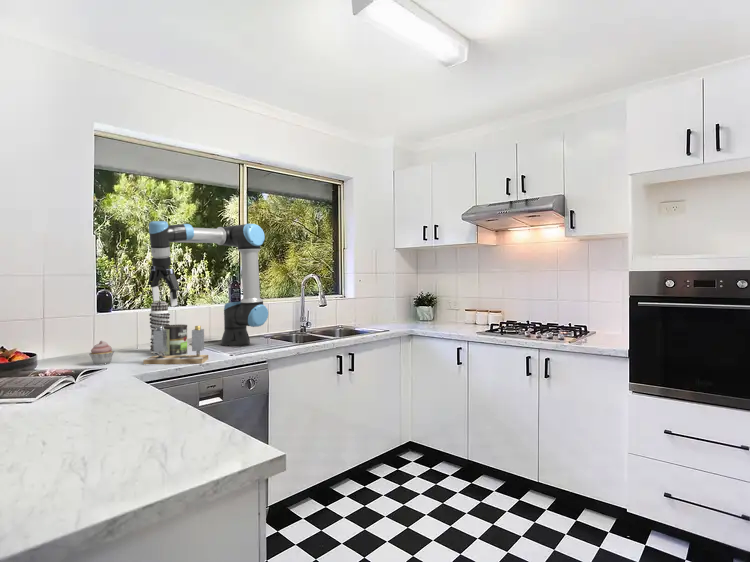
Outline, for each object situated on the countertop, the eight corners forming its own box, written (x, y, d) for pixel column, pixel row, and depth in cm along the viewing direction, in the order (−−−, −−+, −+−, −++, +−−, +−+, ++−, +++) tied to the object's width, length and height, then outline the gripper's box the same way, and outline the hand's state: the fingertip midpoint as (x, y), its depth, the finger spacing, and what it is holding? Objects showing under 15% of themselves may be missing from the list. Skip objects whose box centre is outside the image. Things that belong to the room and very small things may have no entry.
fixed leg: (166, 356, 196) (166, 326, 196) (163, 358, 192) (162, 327, 192) (157, 357, 196) (156, 326, 196) (153, 358, 192) (153, 327, 192)
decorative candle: (156, 354, 213) (156, 302, 213) (145, 352, 218) (145, 301, 218) (174, 351, 221) (173, 301, 221) (163, 350, 226) (162, 300, 226)
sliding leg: (204, 355, 198) (203, 325, 198) (201, 356, 194) (201, 326, 194) (194, 355, 197) (194, 325, 197) (192, 357, 193) (191, 326, 193)
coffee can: (192, 353, 216) (191, 324, 215) (178, 357, 206) (178, 327, 205) (173, 352, 218) (172, 324, 218) (159, 356, 208) (158, 326, 207)
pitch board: (208, 359, 201) (208, 354, 201) (202, 363, 191) (201, 358, 191) (152, 360, 198) (152, 355, 198) (143, 364, 189) (143, 359, 188)
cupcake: (84, 364, 190) (83, 341, 190) (106, 360, 198) (105, 338, 198) (97, 366, 185) (97, 342, 185) (119, 362, 194) (118, 339, 193)
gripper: (136, 254, 199) (141, 300, 204) (170, 261, 186) (174, 309, 191) (152, 252, 206) (156, 297, 210) (186, 258, 192) (189, 306, 197)
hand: (165, 303), depth 201 cm, fingers open, 13 cm apart
